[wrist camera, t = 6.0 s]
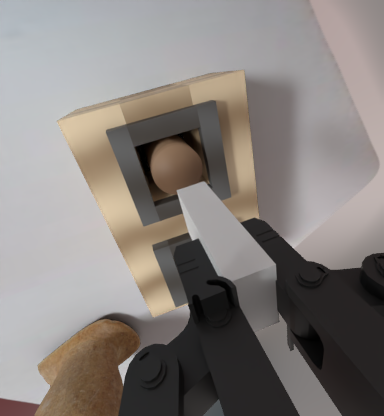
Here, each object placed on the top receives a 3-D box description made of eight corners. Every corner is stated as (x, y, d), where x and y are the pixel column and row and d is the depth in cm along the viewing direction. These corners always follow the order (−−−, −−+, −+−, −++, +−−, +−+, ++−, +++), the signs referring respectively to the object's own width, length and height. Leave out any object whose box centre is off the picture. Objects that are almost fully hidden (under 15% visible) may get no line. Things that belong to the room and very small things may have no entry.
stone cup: (97, 298, 35) (83, 426, 22) (149, 333, 41) (161, 450, 28) (16, 355, 36) (-44, 510, 23) (78, 381, 42) (58, 516, 29)
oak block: (75, 109, 24) (53, 123, 16) (210, 73, 25) (250, 69, 17) (146, 270, 35) (154, 325, 27) (237, 238, 36) (269, 281, 28)
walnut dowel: (138, 132, 25) (144, 153, 18) (174, 121, 26) (196, 138, 18) (149, 167, 27) (160, 200, 20) (183, 157, 28) (206, 185, 20)
